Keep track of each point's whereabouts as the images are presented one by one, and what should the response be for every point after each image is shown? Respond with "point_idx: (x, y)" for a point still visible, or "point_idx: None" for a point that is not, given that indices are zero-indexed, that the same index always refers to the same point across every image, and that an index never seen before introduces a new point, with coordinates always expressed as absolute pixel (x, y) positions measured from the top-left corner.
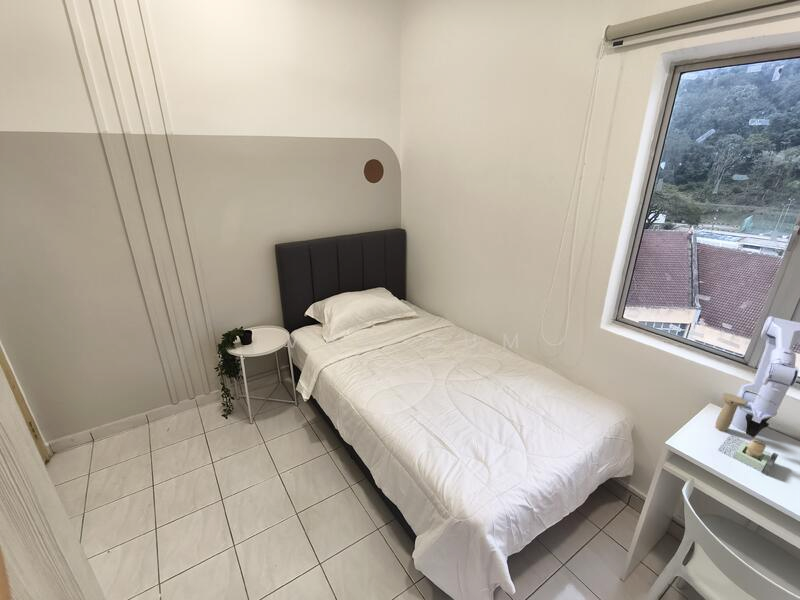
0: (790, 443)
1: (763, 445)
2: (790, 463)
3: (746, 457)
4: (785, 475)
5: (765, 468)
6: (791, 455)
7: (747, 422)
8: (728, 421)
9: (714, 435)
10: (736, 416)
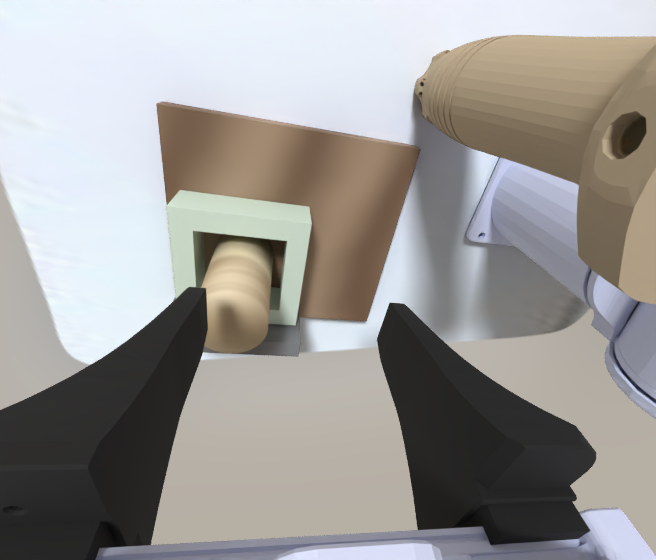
0: (510, 331)
1: (229, 344)
2: (368, 342)
3: (171, 252)
4: None
5: None
6: None
7: (69, 382)
8: (456, 128)
9: (360, 64)
10: None
